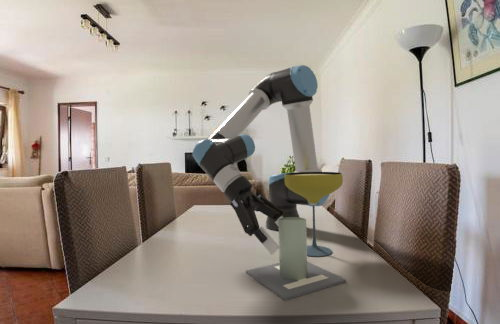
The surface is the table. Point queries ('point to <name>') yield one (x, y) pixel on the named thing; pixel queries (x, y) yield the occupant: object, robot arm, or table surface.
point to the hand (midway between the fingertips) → (285, 243)
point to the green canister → (293, 248)
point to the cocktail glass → (314, 196)
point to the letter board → (294, 288)
